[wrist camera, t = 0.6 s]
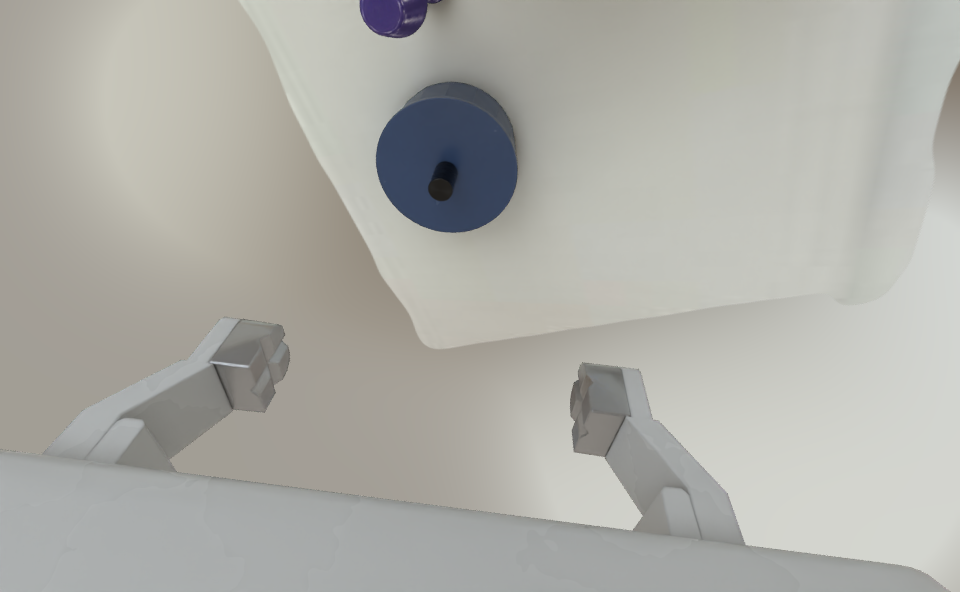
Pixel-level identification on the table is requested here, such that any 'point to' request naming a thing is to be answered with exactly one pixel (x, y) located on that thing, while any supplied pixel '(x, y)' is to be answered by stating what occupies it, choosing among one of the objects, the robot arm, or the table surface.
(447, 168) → the lid
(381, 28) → the toy lamp
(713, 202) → the table surface
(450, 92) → the pot
